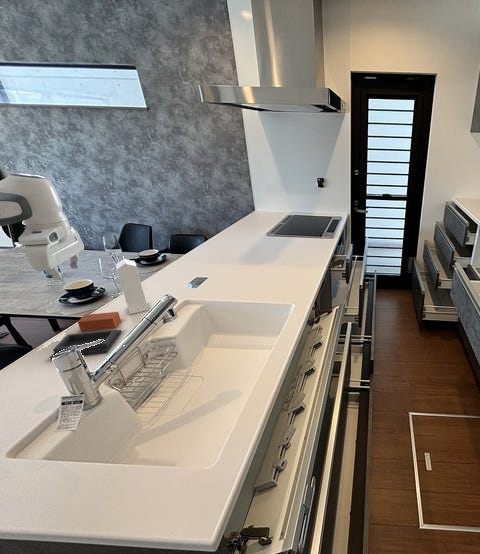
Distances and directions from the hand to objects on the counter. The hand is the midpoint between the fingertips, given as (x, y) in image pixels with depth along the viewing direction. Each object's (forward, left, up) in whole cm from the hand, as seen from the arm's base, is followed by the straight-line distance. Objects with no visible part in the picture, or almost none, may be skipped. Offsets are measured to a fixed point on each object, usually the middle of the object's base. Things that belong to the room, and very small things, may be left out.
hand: (68, 273), depth 96 cm
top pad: (+1, +5, -23) cm, 23 cm away
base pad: (+2, -7, -23) cm, 24 cm away
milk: (+9, +16, -23) cm, 30 cm away
